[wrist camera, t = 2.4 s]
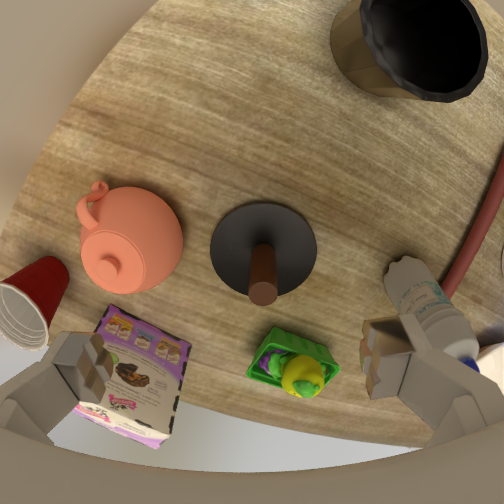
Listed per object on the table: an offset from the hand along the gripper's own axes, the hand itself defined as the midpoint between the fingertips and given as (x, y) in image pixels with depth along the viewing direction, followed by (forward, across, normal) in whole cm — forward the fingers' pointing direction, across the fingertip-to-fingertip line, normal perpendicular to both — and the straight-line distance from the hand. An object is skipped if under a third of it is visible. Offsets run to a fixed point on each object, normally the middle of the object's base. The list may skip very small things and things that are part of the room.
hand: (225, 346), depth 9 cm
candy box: (+28, +19, +24) cm, 41 cm away
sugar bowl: (+28, +15, +6) cm, 32 cm away
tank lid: (+27, 0, +11) cm, 29 cm away
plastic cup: (+28, +31, +12) cm, 43 cm away
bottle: (+28, -18, +16) cm, 37 cm away
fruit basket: (+28, -3, +27) cm, 39 cm away
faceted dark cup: (+27, -15, -12) cm, 33 cm away
